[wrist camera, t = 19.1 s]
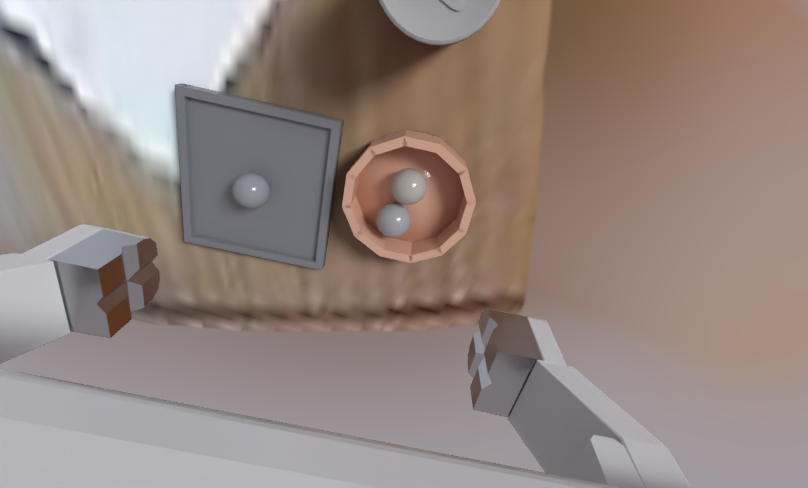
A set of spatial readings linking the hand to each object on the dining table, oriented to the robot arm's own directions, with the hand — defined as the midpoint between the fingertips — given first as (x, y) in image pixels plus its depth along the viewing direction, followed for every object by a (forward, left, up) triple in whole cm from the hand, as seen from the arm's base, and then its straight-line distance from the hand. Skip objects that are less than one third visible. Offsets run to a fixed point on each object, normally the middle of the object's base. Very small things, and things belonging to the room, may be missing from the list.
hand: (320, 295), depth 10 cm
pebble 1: (-13, -10, -27) cm, 31 cm away
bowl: (+2, -7, -29) cm, 30 cm away
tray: (-13, -10, -29) cm, 33 cm away
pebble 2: (+2, -6, -27) cm, 27 cm away
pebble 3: (+1, -9, -27) cm, 28 cm away
